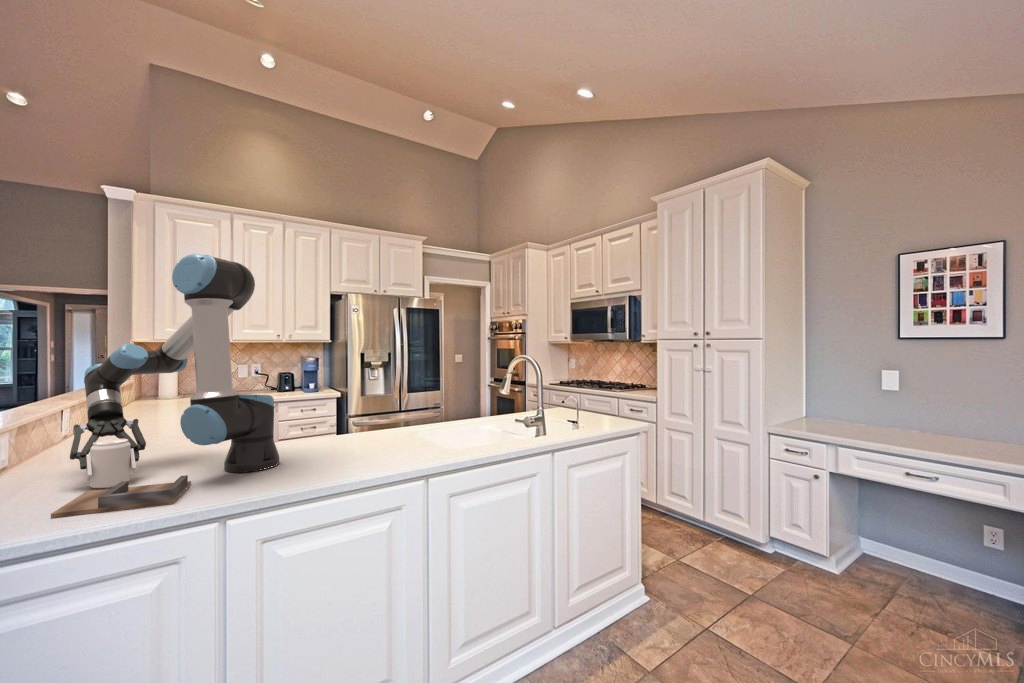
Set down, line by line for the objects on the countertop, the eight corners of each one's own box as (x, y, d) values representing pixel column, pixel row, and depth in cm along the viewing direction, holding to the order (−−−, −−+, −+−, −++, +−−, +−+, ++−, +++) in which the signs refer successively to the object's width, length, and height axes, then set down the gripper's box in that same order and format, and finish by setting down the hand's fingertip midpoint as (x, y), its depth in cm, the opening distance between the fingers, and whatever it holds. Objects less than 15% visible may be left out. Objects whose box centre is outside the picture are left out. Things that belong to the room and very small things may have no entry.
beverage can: (105, 491, 113) (105, 445, 113) (81, 488, 114) (82, 443, 115) (137, 481, 121) (138, 439, 121) (114, 479, 122) (115, 437, 123)
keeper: (191, 484, 119) (191, 471, 119) (173, 503, 104) (173, 489, 104) (86, 495, 109) (86, 481, 110) (50, 518, 95) (50, 502, 95)
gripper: (148, 412, 136) (159, 473, 125) (52, 421, 120) (54, 491, 109) (152, 397, 132) (163, 458, 122) (54, 404, 116) (56, 474, 106)
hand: (112, 474), depth 115 cm, fingers closed on beverage can, 8 cm apart
